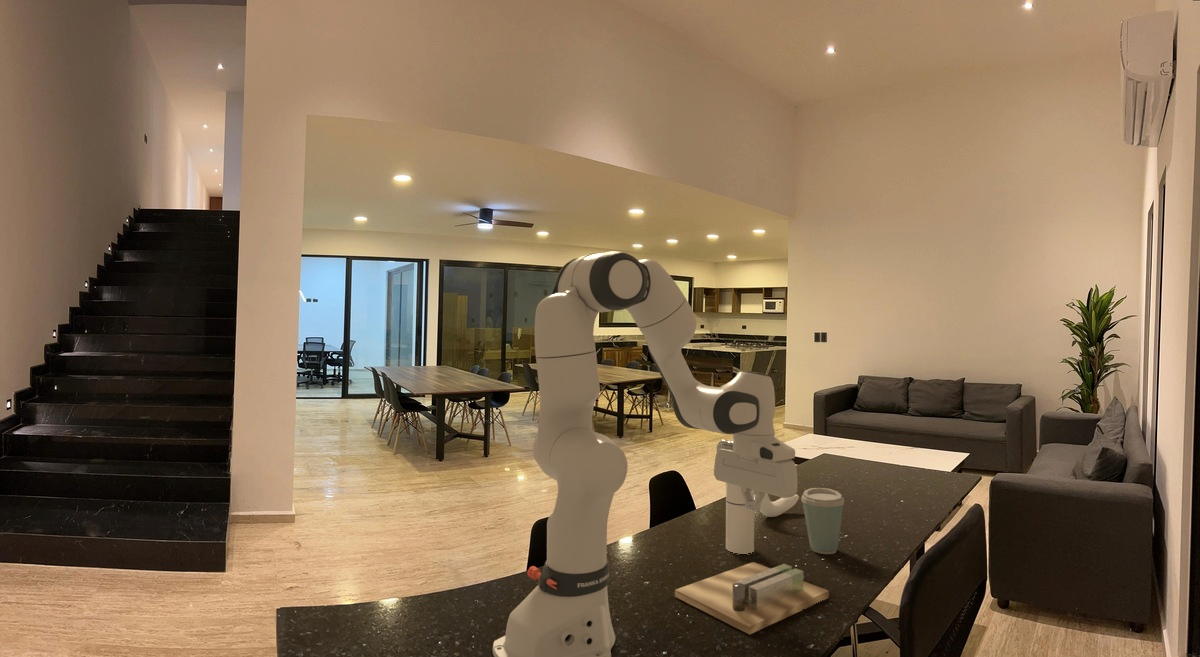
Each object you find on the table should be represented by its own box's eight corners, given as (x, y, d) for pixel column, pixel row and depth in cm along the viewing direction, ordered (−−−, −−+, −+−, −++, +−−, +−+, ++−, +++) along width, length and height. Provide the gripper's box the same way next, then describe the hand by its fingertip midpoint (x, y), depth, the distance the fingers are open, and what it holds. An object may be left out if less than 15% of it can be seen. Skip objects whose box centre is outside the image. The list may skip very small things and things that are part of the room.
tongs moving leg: (739, 612, 119) (739, 588, 119) (724, 605, 122) (725, 582, 122) (798, 587, 131) (798, 566, 131) (784, 581, 134) (784, 560, 134)
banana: (799, 512, 190) (800, 465, 190) (764, 524, 178) (764, 474, 178) (786, 508, 194) (786, 462, 194) (750, 520, 181) (750, 471, 181)
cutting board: (749, 634, 114) (749, 626, 114) (674, 596, 130) (674, 589, 130) (828, 597, 129) (828, 590, 129) (753, 568, 145) (753, 561, 145)
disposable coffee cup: (848, 559, 151) (848, 499, 151) (803, 556, 153) (803, 496, 153) (840, 544, 162) (840, 488, 162) (798, 541, 164) (798, 486, 164)
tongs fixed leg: (756, 610, 120) (756, 589, 120) (748, 606, 122) (748, 586, 122) (803, 590, 130) (803, 571, 130) (795, 586, 131) (795, 568, 131)
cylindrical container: (734, 555, 153) (734, 456, 153) (721, 546, 160) (721, 451, 160) (759, 553, 155) (759, 455, 155) (745, 543, 162) (745, 450, 162)
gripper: (708, 439, 139) (707, 500, 138) (783, 455, 122) (782, 523, 122) (726, 437, 142) (725, 496, 142) (802, 451, 126) (801, 518, 126)
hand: (752, 509), depth 132 cm, fingers closed
